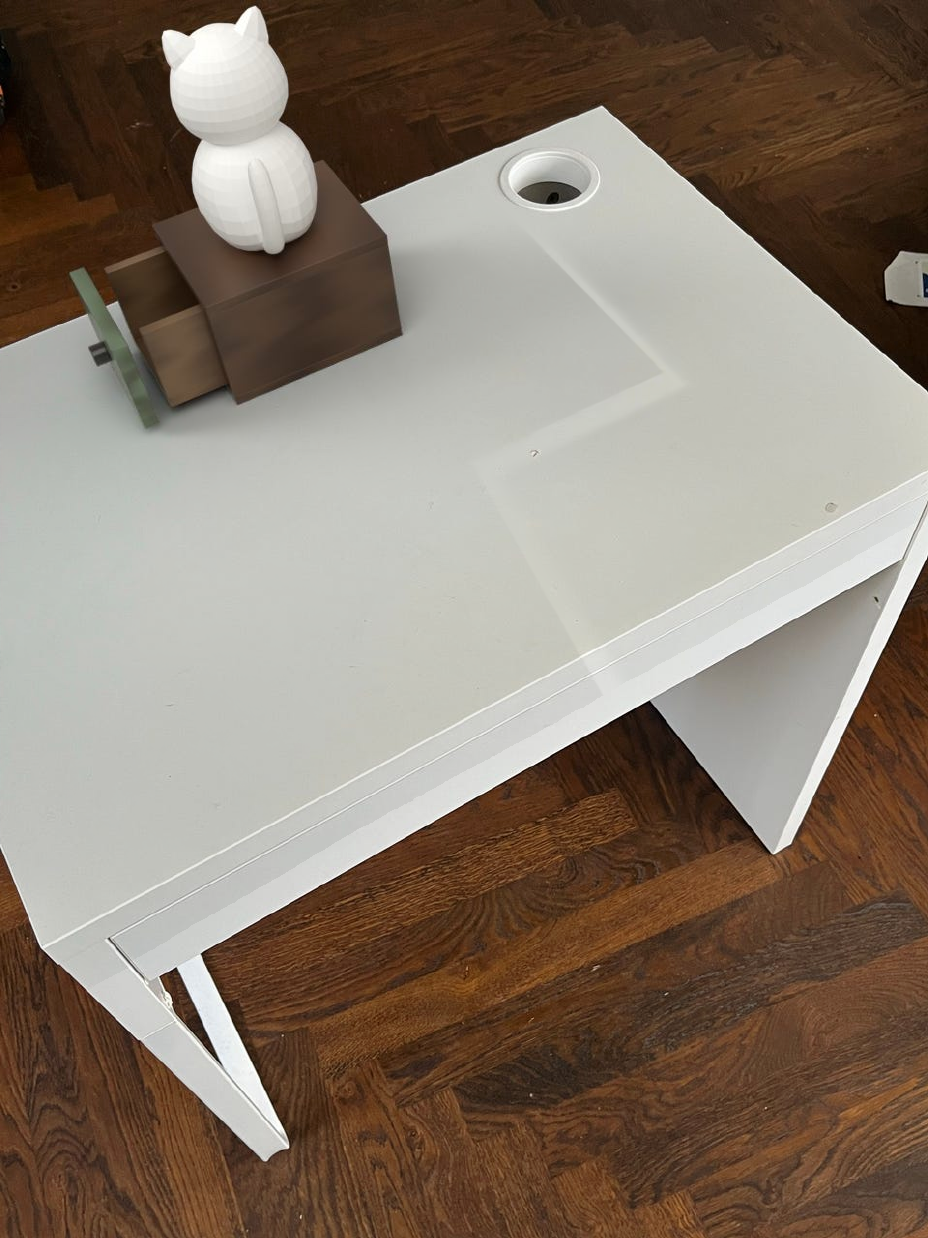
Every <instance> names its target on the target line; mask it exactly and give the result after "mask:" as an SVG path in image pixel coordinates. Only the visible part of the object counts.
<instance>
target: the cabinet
mask: <svg viewBox="0 0 928 1238" xmlns="http://www.w3.org/2000/svg"><path fill="white" fill-rule="evenodd" d="M313 165H314V170H315V175H316V181H317V206H316V212H315V215H314V218H313V220H312V223H311V225H310V227H309V228H308V230H307V231H306V232H305V233H304V234H302V235H301V236H300V237H298V238H297V239H295V240H293V241H291V242H288V243H285V244H284V248H283V250H282V251H281V252H279V253H277V254H269V253H267V252H266V251H265V250H260V251H247V250H242V249H238V248H236V247H234V246H232V245H230V244H229V243H228V242H227V241H225V240H224V239H223V238H222V237H221V236H219V235H218V234H217V233H216V232H215V231H214V230H213V229H212V228H211V226H210V225H209V224H208V222H207V221H206V219H205V218H204V216H203V215H202V213H201V212H200V209H199V207H197V206H196V207H195V208H192V209H190V210H187V211H185V212H182V213H179V214H177V215H174V216H172V217H168V218H166V219H164V220H161V221H158V222H155V223H152V224H151V227H152V229H153V230H152V231H153V233H154V236H155V238H156V241H157V244H158V247H160V246H163V247H164V248H165V250H166V252H167V253H168V255H169V256H170V258H171V259H172V261H173V262H174V264H175V266H176V267H177V269H178V270H179V272H180V273H181V275H182V276H183V278H184V280H185V281H186V283H187V284H188V286H189V287H190V289H191V291H192V292H193V294H194V295H195V297H196V298H197V300H198V301H199V303H200V305H201V306H202V308H203V309H204V311H205V314H206V317H207V320H208V323H209V326H210V329H211V332H212V335H213V338H214V341H215V344H216V347H217V350H218V353H219V356H220V359H221V362H222V365H223V368H224V371H225V374H226V377H227V380H228V384H226V385H224V386H225V387H226V389H227V391H228V393H229V394H230V396H231V398H233V401H234V402H235V404H236V405H237V406H238V405H240V404H243V403H245V402H248V401H250V400H252V399H255V398H257V397H260V396H262V395H264V394H267V393H269V392H272V391H274V390H276V389H279V388H281V387H283V386H286V385H288V384H291V383H293V382H294V381H295V382H296V381H297V380H299V379H302V378H305V377H306V376H309V375H311V374H313V373H316V372H318V371H321V370H323V369H325V368H328V367H330V366H333V365H335V364H337V363H340V362H342V361H344V360H347V359H349V358H351V357H354V356H356V355H359V354H361V353H364V352H365V351H368V350H371V349H373V348H375V347H378V346H379V345H382V344H384V343H387V342H389V341H391V340H394V339H396V338H398V337H401V336H403V328H402V323H401V322H402V321H401V316H400V310H399V303H398V298H397V297H398V296H397V292H396V291H397V290H396V285H395V284H396V283H395V278H394V272H393V265H392V260H391V253H390V248H389V240H388V234H386V232H385V231H384V230H383V229H382V228H381V226H380V225H379V224H378V223H377V222H376V221H375V219H374V218H373V217H372V216H371V215H370V213H369V212H368V211H367V210H366V209H365V207H364V206H363V205H362V204H361V203H360V202H359V201H358V199H357V197H355V196H354V194H353V193H352V192H351V191H350V190H349V189H348V188H347V186H346V185H345V184H344V183H343V181H342V180H341V179H340V178H339V177H338V176H337V175H336V173H335V172H334V171H333V170H332V169H331V168H330V165H328V164H327V162H326V161H325V160H324V159H321V160H319V161H316V162H313Z"/></svg>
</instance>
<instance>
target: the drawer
mask: <svg viewBox="0 0 928 1238" xmlns="http://www.w3.org/2000/svg"><path fill="white" fill-rule="evenodd" d="M104 271H105V274H106V276H107V279H108V281H109V284H110V287H111V288H112V292H113V293H114V296H115V299H116V301H117V304H118V306H119V309H120V311H121V314H122V316H123V318H124V320H125V323H126V325H127V328H128V330H129V333H130V335H131V338H132V340H133V342H134V344H135V346H136V348H137V350H138V351H139V353H140V355H141V356H142V358H143V360H144V362H145V363H146V365H147V367H148V369H149V370H150V372H151V374H152V376H153V378H154V379H155V381H156V383H157V386H158V387H159V388H160V390H161V392H162V394H163V395H164V397H165V399H166V401H167V402H168V404H169V406H170V407H171V408H174V407H176V406H178V405H180V404H183V403H185V402H188V401H190V400H192V399H195V398H197V397H200V396H202V395H204V394H206V393H209V392H212V391H214V390H216V389H219V388H221V387H223V386H225V385H226V384H228V380H227V377H226V374H225V371H224V368H223V365H222V362H221V359H220V356H219V353H218V350H217V347H216V344H215V341H214V338H213V335H212V332H211V329H210V326H209V323H208V320H207V317H206V314H205V311H204V309H203V308H202V306H201V305H200V303H199V301H198V300H197V298H196V297H195V295H194V294H193V292H192V291H191V289H190V287H189V286H188V284H187V283H186V281H185V280H184V278H183V276H182V275H181V273H180V272H179V270H178V269H177V267H176V266H175V264H174V262H173V261H172V259H171V258H170V256H169V255H168V253H167V252H166V250H165V248H164V247H163V246H160V247H159V246H158V247H155V248H152V249H150V250H147V251H145V252H142V253H140V254H136V255H134V256H132V257H129V258H126V259H123V260H121V261H119V262H116V263H113V264H111V265H108V266H106V267H104ZM69 276H70V278H71V280H72V283H73V285H74V287H75V289H76V292H77V295H78V296H79V299H80V301H81V303H82V305H83V307H84V311H85V313H86V315H87V317H88V319H89V321H90V324H91V326H92V328H93V330H94V333H95V335H96V338H97V340H98V342H96V343H94V344H91V345H89V346H87V349H88V351H89V354H90V356H91V358H92V360H93V362H94V364H95V366H96V367H101V366H104V365H106V364H108V363H109V364H110V366H111V368H112V370H113V372H114V374H115V376H116V377H117V379H118V381H119V383H120V384H121V386H122V388H123V391H124V392H125V394H126V396H127V398H128V399H129V401H130V403H131V405H132V407H133V408H134V410H135V413H136V414H137V417H138V418H139V421H140V422H141V423H142V425H143V427H144V429H148V428H150V427H153V426H155V425H157V424H159V423H160V420H159V417H158V415H157V412H156V410H155V408H154V405H153V403H152V400H151V398H150V395H149V393H148V390H147V388H146V386H145V383H144V381H143V378H142V376H141V373H140V372H139V371H140V370H139V369H138V367H137V364H136V362H135V360H134V357H133V354H132V352H131V349H130V347H129V344H128V343H127V342H126V339H125V337H124V336H123V333H122V332H121V331H120V329H119V327H118V325H117V323H116V322H115V319H114V318H113V316H112V315H111V313H110V310H109V309H108V307H107V306H106V305H107V304H105V302H104V300H103V298H102V296H101V295H100V293H99V291H98V289H97V288H96V285H95V284H94V282H93V281H92V279H91V277H90V275H89V274H88V272H87V270H86V268H85V267H84V266H82V267H81V268H77V269H75V270H73V271H70V272H69Z"/></svg>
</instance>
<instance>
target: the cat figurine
mask: <svg viewBox="0 0 928 1238" xmlns="http://www.w3.org/2000/svg"><path fill="white" fill-rule="evenodd" d="M161 42H162V43H161V44H162V51H163V53H164V56H165V59H166V62H167V64H168V65H169V67H170V74H169V91H170V99H171V104H172V108H173V110H174V112H175V114H176V117H177V118H178V121H179V122H180V124H181V125H183V127H184V128H185V129H186V130H187V131H189V133H191V134H192V135H193V136H195V137H197V138H198V139H200V143H199V144H198V146H197V149H196V152H195V155H194V158H193V162H192V171H191V184H192V185H191V186H192V193H193V195H194V199H195V201H196V204H197V206H198V207H199V209H200V212H201V213H202V215H203V216H204V218H205V219H206V221H207V222H208V224H209V225H210V226H211V228H212V229H213V230H214V231H215V232H216V233H217V234H218V235H219V236H221V237H222V238H223V239H224V240H225V241H227V242H228V243H229V244H230V245H232V246H234V247H236V248H238V249H242V250H247V251H260V250H265V251H266V252H267V253H269V254H277V253H279V252H281V251H282V250H283V248H284V244H285V243H288V242H291V241H293V240H295V239H297V238H298V237H300V236H301V235H302V234H304V233H305V232H306V231H307V230H308V228H309V227H310V225H311V223H312V220H313V218H314V215H315V212H316V206H317V181H316V175H315V170H314V165H313V163H314V162H313V159H312V156H311V154H310V151H309V150H308V149H307V147H306V145H305V144H304V142H303V141H302V139H301V137H299V135H298V134H296V132H295V131H294V130H293V129H292V128H291V127H289V126H287V124H285V123H283V122H282V121H280V119H281V117H282V116H283V114H284V112H285V110H286V106H287V103H288V101H289V100H288V99H289V81H288V76H287V73H286V70H285V67H284V66H283V64H282V62H281V60H280V58H279V57H278V55H277V54H276V52H275V50H274V49H273V47H272V46H271V45H270V43H269V34H268V29H267V25H266V21H265V19H264V16H263V14H262V11H261V10H260V9H259V8H258V6H256V5H253V6H251V7H249V8H247V9H246V10H245V11H244V12H243V13H242V14H241V15H240V17H239V18H238V20H237V21H236V23H235V24H234V23H228V22H227V23H226V22H215V23H210V24H206V25H204V26H202V27H201V28H199V29H196V30H195V31H193V32H192V33H191V34H190V35H186V34H185V33H183V32H181V31H177V30H174V29H167V30H164V31H163V32H162V36H161Z"/></svg>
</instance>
